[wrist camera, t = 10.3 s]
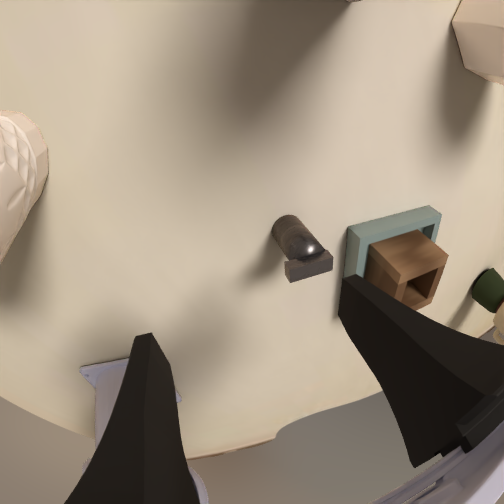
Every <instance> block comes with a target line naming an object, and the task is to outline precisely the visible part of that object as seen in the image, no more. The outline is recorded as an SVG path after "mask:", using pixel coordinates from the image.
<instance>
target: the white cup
mask: <svg viewBox="0 0 504 504" xmlns="http://www.w3.org/2000/svg"><path fill="white" fill-rule="evenodd" d="M47 175H48V148H47V146H46V144H45V141H44V139H43V137H42V134H41V132H40V130H39V127H38V126H37V125H36V124H35V123H34V122H32V121H31V120H30V119H29V118H28V117H27V116H25V115H24V114H23V113H21V112H13V111H6V110H2V111H0V265H1V263H2V261H3V259H4V258H5V256H6V254H7V252H8V250H9V248H10V247H11V245H12V243H13V241H14V239H15V237H16V235H17V233H18V232H19V230H20V228H21V227H22V225H23V223H24V222H25V220H26V218H27V215H28V213H29V211H30V209H31V208H32V206H33V205H34V204H35V202H36V201H37V199H38V198H39V197H40V195H41V193H42V190H43V187H44V184H45V181H46V178H47Z"/></svg>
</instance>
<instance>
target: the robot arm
mask: <svg viewBox="0 0 504 504" xmlns="http://www.w3.org/2000/svg"><path fill="white" fill-rule="evenodd" d="M338 315H339V318H340V320H341V322H342V324H343V326H344V328H345V330H346V332H347V334H348V336H349V337H350V339H351V340H352V342H353V343H354V345H355V346H356V348H357V349H358V351H359V353H360V354H361V355H362V357H363V358H364V360H365V362H366V363H367V365H368V366H369V368H370V369H371V371H372V372H373V374H374V375H375V377H376V378H377V380H378V382H379V384H380V385H381V387H382V389H383V391H384V393H385V395H386V397H387V400H388V402H389V404H390V406H391V408H392V411H393V413H394V415H395V418H396V420H397V423H398V425H399V428H400V431H401V433H402V436H403V439H404V442H405V445H406V448H407V452H408V455H409V459H410V462H411V464H412V465H413V467H414V468H416V467H418V466H419V465H421V464H423V463H425V462H426V461H428V460H429V459H431V458H433V457H434V456H436V455H437V454H439V453H441V455H442V456H443V458H442V459H441V460H439V461H438V462H436V463H435V464H433V465H432V466H430V467H429V468H428V469H426V470H425V471H423V472H422V473H420V474H418V475H417V476H416V477H414V478H412V479H411V480H409V481H407V482H406V483H404V484H402V485H401V486H399V487H397V488H396V489H394V490H392V491H390V492H388V493H387V494H385V495H383V496H381V497H379V498H377V499H376V500H373V501H371V502H370V503H367V504H401V503H403V502H405V501H406V500H408V499H410V498H411V497H413V496H414V497H413V498H412V499H410V500H409V501H408V502H406V503H405V504H495V502H496V501H497V500H498V498H499V497H500V496H501V495H502V493H503V492H504V345H501V344H496V343H492V342H488V341H484V340H481V339H478V338H475V337H472V336H469V335H466V334H463V333H461V332H458V331H456V330H453V329H451V328H448V327H446V326H444V325H442V324H440V323H438V322H436V321H434V320H432V319H430V318H428V317H426V316H424V315H422V314H420V313H419V312H417V311H415V310H413V309H412V308H410V307H408V306H406V305H405V304H403V303H401V302H400V301H398V300H397V299H395V298H393V297H392V296H390V295H389V294H387V293H386V292H384V291H382V290H381V289H379V288H378V287H376V286H375V285H373V284H372V283H370V282H368V281H367V280H365V279H364V278H362V277H361V276H359V275H357V274H354V275H351V276H348V277H345V278H343V279H342V287H341V295H340V303H339V310H338ZM79 372H80V373H81V374H82V375H83V376H84V377H85V379H86V380H87V381H88V382H89V383H90V384H91V385H92V386H93V387H94V388H95V441H96V451H95V453H94V455H93V457H92V459H90V458H89V459H88V460H87V461H86V462H85V463H83V475H82V477H81V479H80V480H79V482H78V484H77V486H76V487H75V489H74V490H73V492H72V493H71V494H70V496H69V497H68V499H67V500H66V502H65V503H64V504H209V501H208V495H207V491H206V488H205V485H204V483H203V481H202V479H201V477H200V476H199V475H198V474H197V473H196V472H195V471H194V470H193V469H192V468H191V467H189V466H188V465H187V462H186V458H185V455H184V451H183V446H182V441H181V434H180V426H179V418H178V409H177V403H178V402H181V401H182V399H181V396H180V395H179V394H178V392H177V391H176V389H175V386H174V381H173V376H172V371H171V367H170V363H169V362H168V360H167V358H166V357H165V355H164V353H163V352H162V350H161V348H160V346H159V345H158V343H157V341H156V339H155V338H154V336H153V334H152V333H147V334H143V335H139V336H136V337H135V339H134V342H133V346H132V350H131V353H130V357H129V358H127V359H122V360H116V361H111V362H106V363H101V364H95V365H89V366H84V367H80V370H79ZM435 481H436V484H435V485H434V486H432V487H430V488H428V489H426V490H424V489H425V488H427V487H428V486H429V485H431V484H433V483H434V482H435ZM422 490H424V491H422ZM421 491H422V492H421ZM419 492H421V493H419ZM418 493H419V494H418ZM416 494H417V495H416ZM415 495H416V496H415Z"/></svg>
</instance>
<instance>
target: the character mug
mask: <svg viewBox="0 0 504 504" xmlns="http://www.w3.org/2000/svg"><path fill="white" fill-rule="evenodd" d="M472 298H473V299H474V300H476V301H477V302H478V303H479V304H480V305H482V306H483V307H484V308H486V309H487V310H488V311H489V312H492V313H496V315H495V317H494V319H493V322H494V325H495V326H496V327H497V329H496V331H495V332H494V334H493V337H494V339H495V340H496V341H497V342H498V343H499V344H501V345H504V340H502V339H501V337H500V336H499V334H500V332H501V333H502V334H503V336H504V280H503V279H502V277H501V276H500V275H499V274H498V273H497V272H496V271H495V269H494V268H491V269H489V270H488V271H487V272H485V273H484V274H483V275H482V276H481V277H480V279H479V280H478V281H477V283H476V284H475V286H474V288H473V292H472Z"/></svg>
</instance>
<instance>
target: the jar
mask: <svg viewBox="0 0 504 504" xmlns="http://www.w3.org/2000/svg"><path fill="white" fill-rule="evenodd" d="M452 25H453V28H454V31H455V35H456V38H457V41H458V45H459V48H460V52H461V56H462V60H463V64H464V67H465V68H466V69H468V70H470V71H472V72H474V73H475V74H477V75H479V76H481V77H483V78H484V79H486V80H488V81H492V82H495V83H499V84H502V85H504V0H462V1H461V3H460V5H459V7H458V10H457V12H456V14H455V16H454V18H453V20H452Z"/></svg>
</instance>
